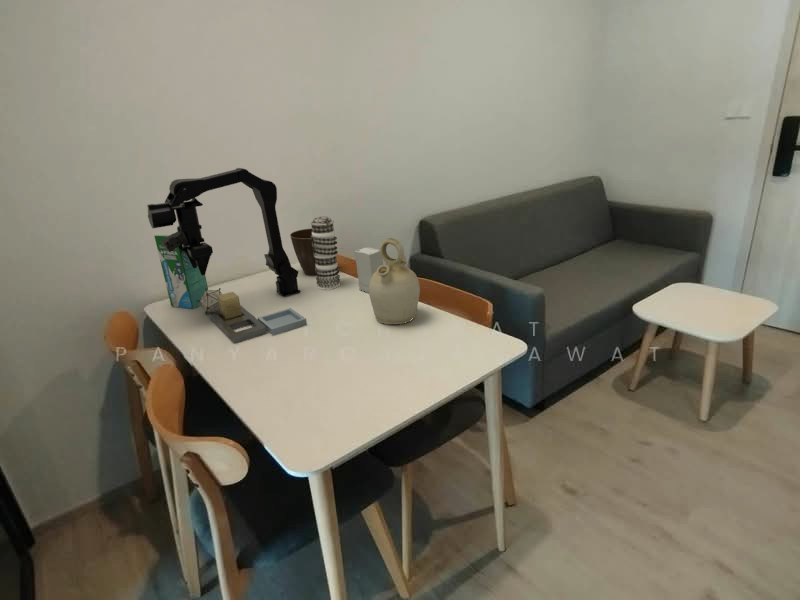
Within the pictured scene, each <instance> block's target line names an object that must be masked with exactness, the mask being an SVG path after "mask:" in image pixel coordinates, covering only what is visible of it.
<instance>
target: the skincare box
mask: <svg viewBox="0 0 800 600" xmlns="http://www.w3.org/2000/svg"><path fill="white" fill-rule="evenodd" d="M354 255H355V263H356V270H357V271H356V272H357V279H358V287H359V291H361V290H362V291H361V292H364V291H365V293H367V294H369V283H370V280H371V277H372V275H373V274H374V273H375V272H376V271H377V269H378V267H379V266H381V265H384V262H383V261H384V259H383V258H382V256H381V253H380V249H377V248H373V247H365V246H364V247H363V248H361V249H357V250H354Z"/></svg>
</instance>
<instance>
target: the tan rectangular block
mask: <svg viewBox="0 0 800 600" xmlns="http://www.w3.org/2000/svg"><path fill="white" fill-rule="evenodd" d="M217 298H218V303H219V308H220V313H221V318H222V319H223V320H224V321H227V320H231V319H234V318H238V317H241V316H242V312H241V306H242V305H241V302H240V296H239V295H238V294H237V293H236V292H235V291H231V292H226V293H222V295H218V296H217ZM240 305H241V306H240Z"/></svg>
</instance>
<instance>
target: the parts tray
mask: <svg viewBox="0 0 800 600" xmlns="http://www.w3.org/2000/svg"><path fill="white" fill-rule="evenodd" d="M257 319H258V320H259V321H260V322H261V323H262V324H264V325H265V326H266V327H267V332H268V333H269V334H270V335H271V334H272V335H271V336H276V335H279V334H282V333H285V332H288V331H292V330H295V329H298V328H301V327H304V326H307V325H308V323H307V318H306V317H304V316H303V315H301V314H300V313H299V312H297V311H296V310H294V309H293V308H291V307H290V308H289V307H288V308H286V309H282V310H278V311H276V312H272V313H269V314H268V313H267V314H265V315H262V316H258V317H257Z"/></svg>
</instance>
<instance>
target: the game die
mask: <svg viewBox="0 0 800 600" xmlns="http://www.w3.org/2000/svg"><path fill="white" fill-rule="evenodd" d="M205 290H206V291H205V293H204V295H203V296H202V298H201V299H200V301H199V300H198V301H197V302H200V303H201V305H200V306H202V307H203V309H204V310H205V315H206V314H208V313H214V312H217V311H220V308H219V303H218V298H217V296H218V295H222V294H223V293H222V292H221V287H219V288H218V289H208V290H207V288H205Z"/></svg>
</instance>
